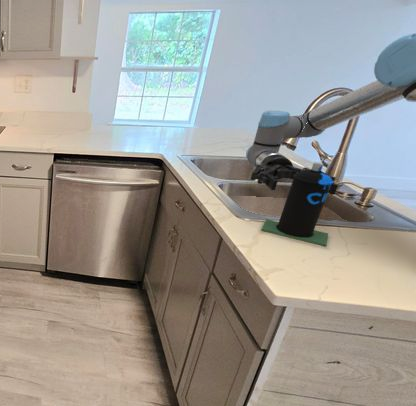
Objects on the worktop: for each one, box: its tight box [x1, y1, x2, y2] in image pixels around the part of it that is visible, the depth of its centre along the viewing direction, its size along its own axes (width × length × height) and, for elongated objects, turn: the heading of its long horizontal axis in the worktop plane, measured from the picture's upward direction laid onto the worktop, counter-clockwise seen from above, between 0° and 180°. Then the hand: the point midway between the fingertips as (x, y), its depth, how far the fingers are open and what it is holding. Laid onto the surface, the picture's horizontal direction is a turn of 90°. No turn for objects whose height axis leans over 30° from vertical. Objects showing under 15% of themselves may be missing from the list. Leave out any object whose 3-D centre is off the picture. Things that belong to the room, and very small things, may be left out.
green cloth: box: [260, 218, 329, 247], centre depth 103 cm, size 14×8×1 cm, turn 46°
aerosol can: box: [276, 161, 335, 237], centre depth 99 cm, size 8×8×20 cm
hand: (304, 187), depth 101 cm, fingers open, 13 cm apart
